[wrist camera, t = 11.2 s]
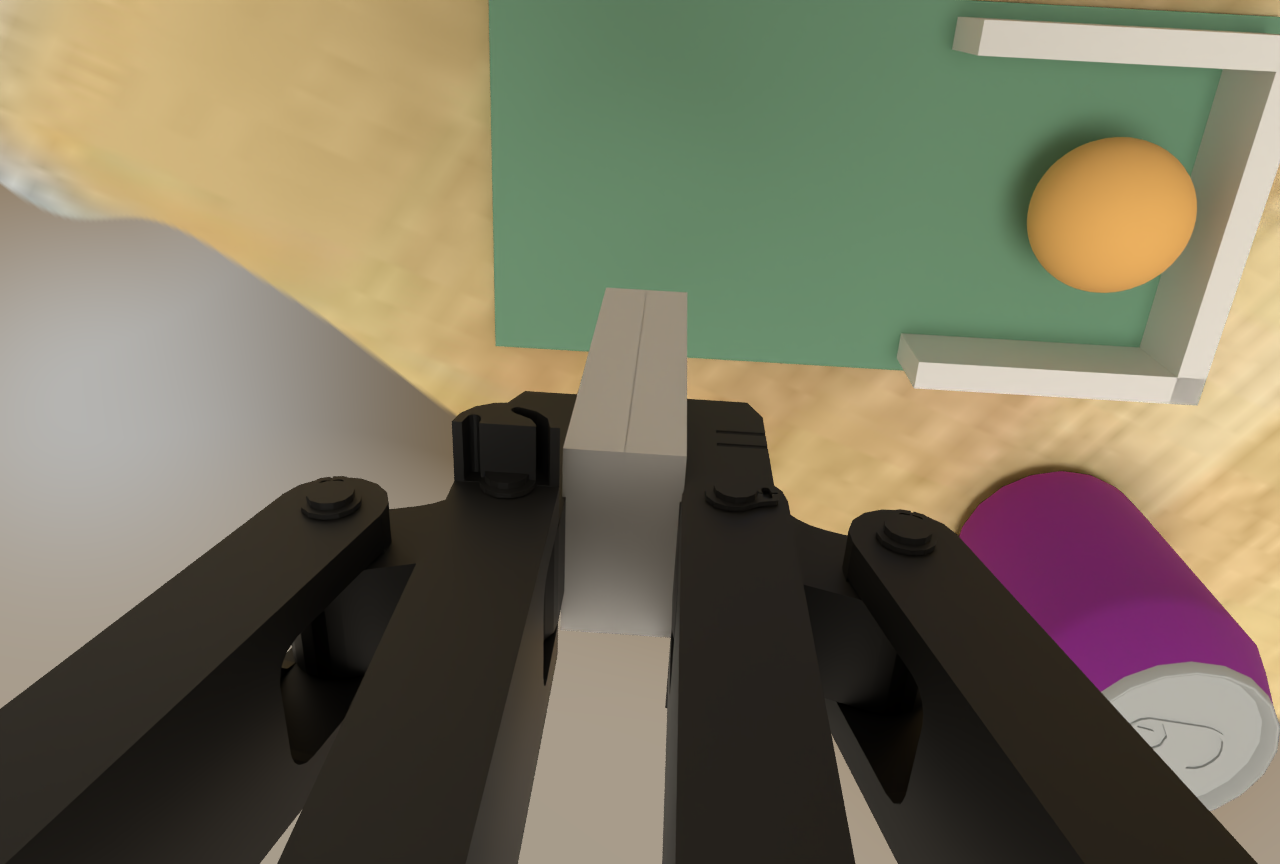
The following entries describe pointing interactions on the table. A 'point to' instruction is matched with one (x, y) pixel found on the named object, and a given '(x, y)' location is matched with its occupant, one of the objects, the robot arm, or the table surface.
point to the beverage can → (1134, 625)
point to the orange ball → (1111, 214)
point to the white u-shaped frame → (1203, 273)
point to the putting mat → (806, 170)
